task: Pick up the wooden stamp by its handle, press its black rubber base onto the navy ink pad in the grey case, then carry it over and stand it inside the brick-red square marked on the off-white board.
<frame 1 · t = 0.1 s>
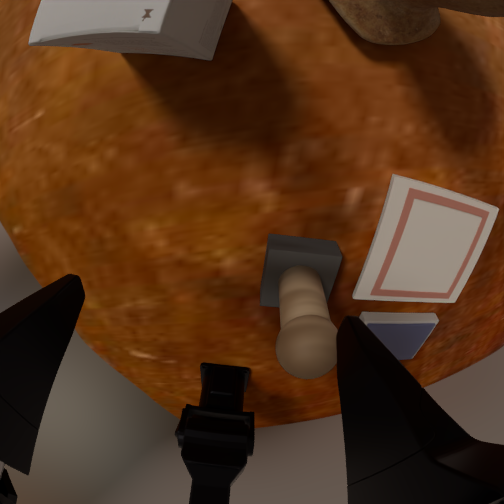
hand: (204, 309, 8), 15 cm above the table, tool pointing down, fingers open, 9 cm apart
small box: (172, 24, 14), on the table
ink pad: (389, 334, 30), on the table
stamp: (296, 265, 25), on the table
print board: (433, 250, 23), on the table
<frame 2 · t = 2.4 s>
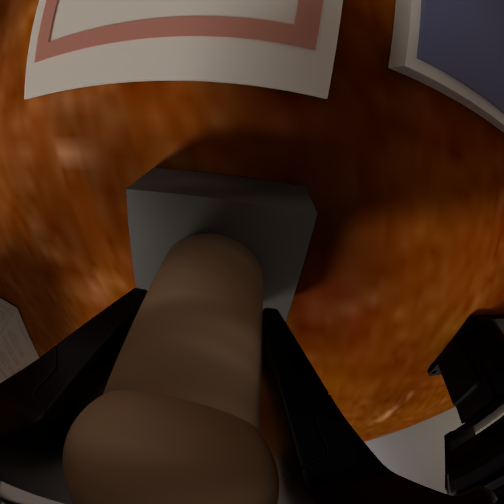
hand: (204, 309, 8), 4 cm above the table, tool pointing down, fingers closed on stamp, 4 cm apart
small box: (12, 322, 17), on the table
ink pad: (467, 6, 5), on the table
stamp: (221, 242, 12), on the table, touching gripper
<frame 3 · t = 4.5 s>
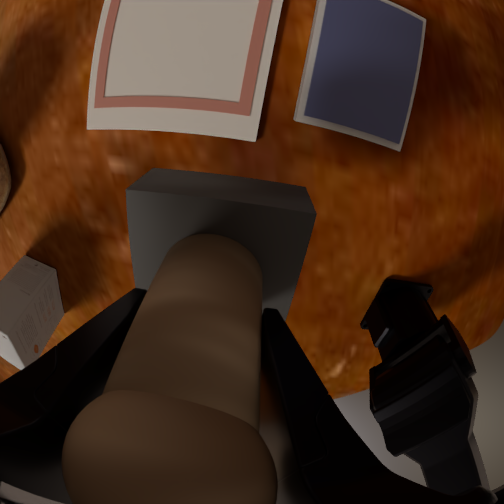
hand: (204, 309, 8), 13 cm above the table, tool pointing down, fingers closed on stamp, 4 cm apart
small box: (45, 284, 26), on the table
ink pad: (361, 62, 14), on the table
stamp: (220, 242, 12), point 9 cm above the table, touching gripper
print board: (178, 31, 13), on the table
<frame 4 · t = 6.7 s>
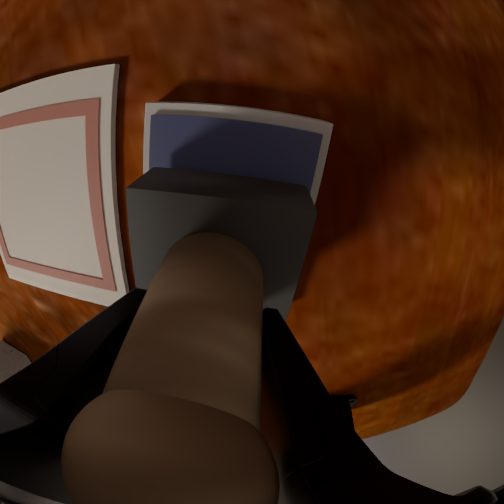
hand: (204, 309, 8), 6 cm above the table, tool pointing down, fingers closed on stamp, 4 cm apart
small box: (23, 360, 27), on the table
ink pad: (226, 217, 14), on the table
stamp: (221, 241, 12), point 2 cm above the table, touching gripper
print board: (37, 198, 13), on the table
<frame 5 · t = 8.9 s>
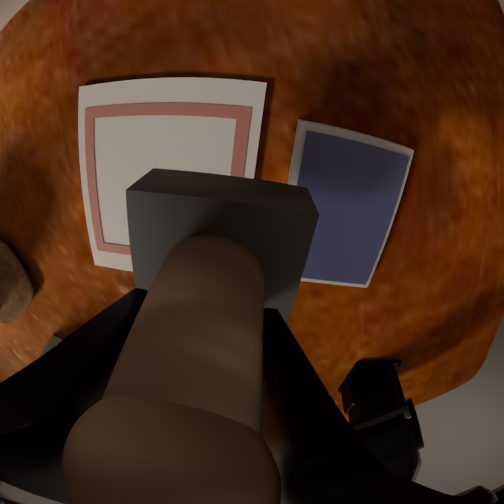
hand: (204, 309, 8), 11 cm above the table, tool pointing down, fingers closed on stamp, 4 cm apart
ink pad: (337, 207, 18), on the table
stamp: (221, 243, 12), point 7 cm above the table, touching gripper
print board: (158, 185, 18), on the table
stone cup: (3, 269, 24), on the table
when the fingers open (5 cm above the table, at t = 10.9 s): stamp drops 1 cm, resting on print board.
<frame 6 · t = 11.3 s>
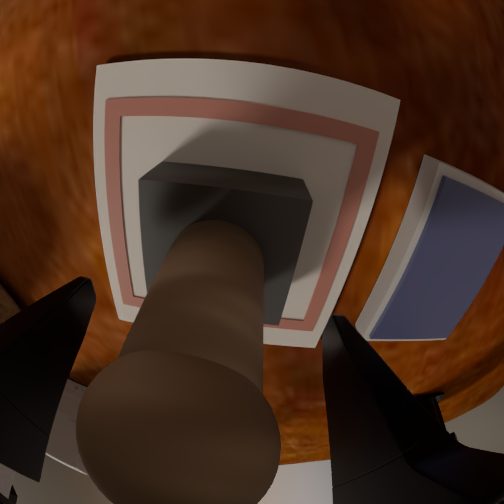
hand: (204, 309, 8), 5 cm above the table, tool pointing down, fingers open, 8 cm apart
small box: (85, 394, 26), on the table
ink pad: (438, 260, 13), on the table
stamp: (224, 231, 12), resting on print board
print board: (224, 226, 13), on the table
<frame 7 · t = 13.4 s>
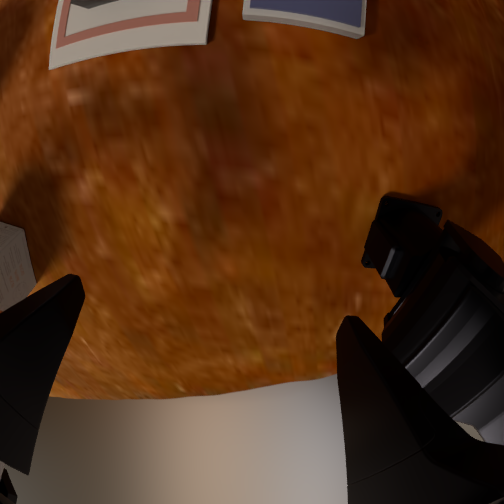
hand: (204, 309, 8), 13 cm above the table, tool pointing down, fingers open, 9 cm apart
small box: (17, 251, 23), on the table
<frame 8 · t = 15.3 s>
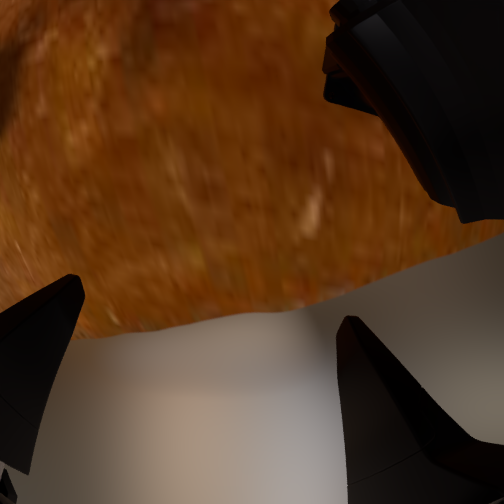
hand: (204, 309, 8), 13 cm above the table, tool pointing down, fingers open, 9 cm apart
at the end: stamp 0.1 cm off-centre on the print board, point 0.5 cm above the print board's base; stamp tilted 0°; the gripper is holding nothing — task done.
